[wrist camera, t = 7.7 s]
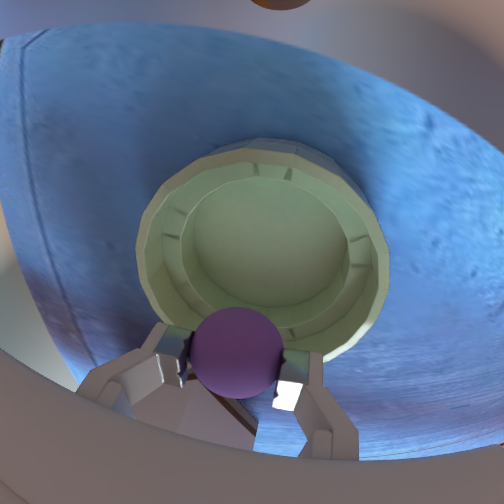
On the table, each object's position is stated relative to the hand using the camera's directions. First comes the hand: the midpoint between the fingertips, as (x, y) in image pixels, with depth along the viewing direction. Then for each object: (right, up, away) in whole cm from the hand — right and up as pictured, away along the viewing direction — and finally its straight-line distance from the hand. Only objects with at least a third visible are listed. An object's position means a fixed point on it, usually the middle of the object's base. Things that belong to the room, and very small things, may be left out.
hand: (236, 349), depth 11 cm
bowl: (+2, +4, +8) cm, 9 cm away
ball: (0, 0, 0) cm, 0 cm away
